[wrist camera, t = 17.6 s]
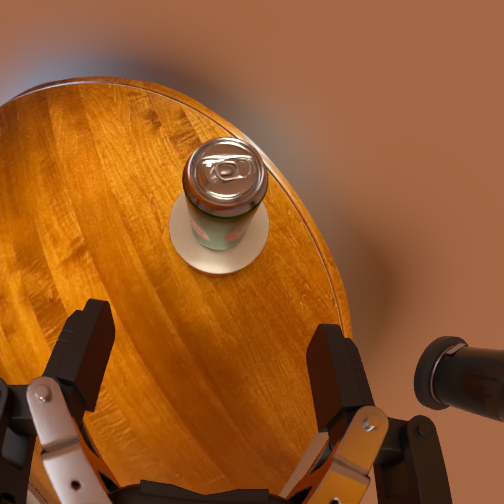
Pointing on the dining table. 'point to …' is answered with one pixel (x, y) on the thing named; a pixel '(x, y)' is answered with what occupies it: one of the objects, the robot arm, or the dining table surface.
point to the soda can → (223, 190)
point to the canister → (216, 260)
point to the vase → (34, 496)
